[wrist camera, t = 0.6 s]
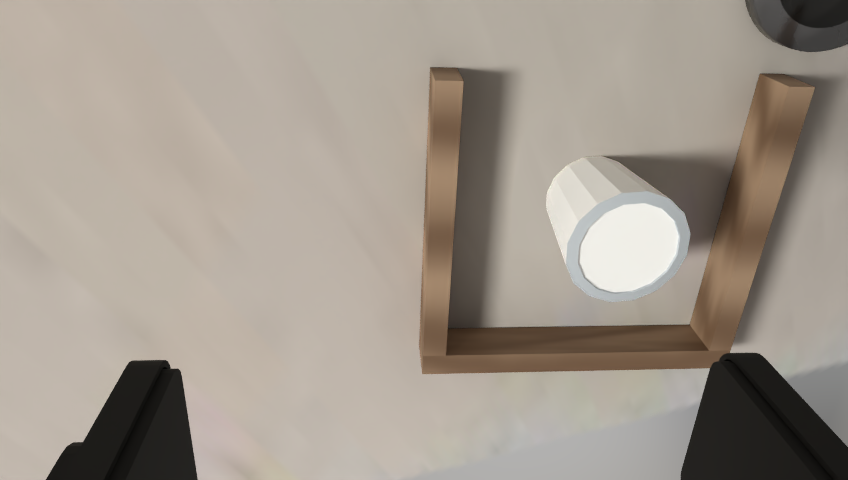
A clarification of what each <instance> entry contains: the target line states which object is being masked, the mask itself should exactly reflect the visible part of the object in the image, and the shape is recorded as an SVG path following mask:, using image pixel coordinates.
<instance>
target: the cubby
mask: <svg viewBox="0 0 848 480" xmlns="http://www.w3.org/2000/svg"><path fill="white" fill-rule="evenodd" d="M463 82H464V81H463V79H462V77H461V75H460V73H459V71H458V69H457V68H433V67H430V89H429V114H428V139H427V164H426V189H425V214H424V239H423V264H422V289H421V315H420V340H419V349H420V358H421V367H422V374H449V373H497V372H546V371H594V370H642V369H691V368H711V365H712V364H713V363H714V362H716V361H719V359H720V357H721V356H722V355H723V354H726V353H730V350H731V347H732V344H733V341H734V338H735V335H736V331H737V328H738V325H739V322H740V319H741V316H742V313H743V310H744V307H745V304H746V300H747V297H748V294H749V291H750V288H751V285H752V282H753V279H754V276H755V272H756V269H757V266H758V263H759V260H760V257H761V254H762V251H763V248H764V245H765V241H766V238H767V235H768V232H769V229H770V226H771V223H772V220H773V217H774V214H775V210H776V207H777V204H778V201H779V198H780V195H781V192H782V189H783V186H784V183H785V179H786V176H787V173H788V170H789V167H790V164H791V161H792V158H793V155H794V152H795V148H796V145H797V142H798V139H799V136H800V133H801V130H802V127H803V124H804V121H805V117H806V114H807V111H808V108H809V105H810V102H811V99H812V96H813V93H814V89H815V87H814V86H811V85H809V84H806V83H804V82H802V81H799V80H797V79H794V78H792V77H790V76H787V75H785V74H760V75H759V79H758V82H757V86H756V89H755V93H754V97H753V100H752V104H751V107H750V111H749V114H748V118H747V122H746V125H745V129H744V132H743V136H742V140H741V143H740V147H739V150H738V154H737V157H736V161H735V165H734V168H733V172H732V175H731V179H730V183H729V186H728V190H727V193H726V197H725V200H724V204H723V208H722V211H721V215H720V218H719V222H718V226H717V229H716V233H715V236H714V240H713V243H712V247H711V251H710V254H709V258H708V261H707V265H706V269H705V272H704V276H703V279H702V283H701V286H700V290H699V294H698V297H697V301H696V304H695V308H694V312H693V315H692V319H691V322H690V325H653V326H586V327H518V328H451V329H448V315H449V299H450V284H451V268H452V253H453V237H454V222H455V206H456V191H457V175H458V160H459V144H460V129H461V113H462V98H463Z"/></svg>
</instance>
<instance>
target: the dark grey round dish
mask: <svg viewBox="0 0 848 480" xmlns="http://www.w3.org/2000/svg"><path fill="white" fill-rule="evenodd" d="M745 1H746V6H747V9H748V12H749V15H750V17H751V19H752V21H753V23H754V24H755V25H756V27H757V28H758V29H759V31H760V32H761V33H762V34H764V35H765V36H766V37H767V38H769V39H770V40H772V41H773V42H775V43H778V44H780V45H782V46H785V47H788V48H791V49H795V50H799V51H805V52H820V51H826V50H831V49H834V48H838V47H841V46H843V45H845V44H848V0H745Z"/></svg>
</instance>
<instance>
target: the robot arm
mask: <svg viewBox="0 0 848 480" xmlns="http://www.w3.org/2000/svg"><path fill="white" fill-rule="evenodd" d="M46 480H198V479H197V473H196V466H195V460H194V453H193V447H192V440H191V434H190V427H189V421H188V414H187V407H186V401H185V394H184V388H183V381H182V375H181V372H180V370H179V369H170V365H169V363H168V361H166V360H144V361H131V362H129V363H128V365H127V366H126V368H125V370H124V371H123V373H122V375H121V377H120V378H119V380H118V382H117V384H116V385H115V387H114V389H113V391H112V392H111V394H110V396H109V398H108V399H107V401H106V403H105V405H104V406H103V408H102V410H101V412H100V413H99V415H98V417H97V419H96V420H95V422H94V424H93V426H92V427H91V429H90V431H89V433H88V435H87V436H86V438H85V440H84V442H74V443H72V444H70V445H68V446H67V447H66V449H65V450H64V451H63V452H62V454H61V455H60V457H59V459H58V460H57V462H56V464H55V465H54V467H53V469H52V470H51V472H50V474H49V475H48V477H47V479H46ZM681 480H848V447H847V446H846V445H845V444H844V443H843V442H842V440H841V439H840V438H839V437H838V436H837V435H836V434H835V433H834V432H833V431H832V430H831V429H830V428H829V427H828V425H827V424H826V423H825V422H824V421H823V420H822V419H821V418H820V417H819V416H818V415H817V414H816V413H815V412H814V410H813V409H812V408H811V407H810V406H809V405H808V404H807V403H806V402H805V401H804V400H803V399H802V398H801V397H800V395H799V394H798V393H797V392H796V391H795V390H794V389H793V388H792V387H791V386H790V385H789V384H788V383H787V381H786V380H785V379H784V378H783V377H782V376H781V375H780V374H779V373H778V372H777V371H776V370H775V369H774V368H773V366H772V365H771V364H770V363H769V362H768V361H767V360H766V359H765V358H764V357H763V356H762V355H760V354H758V353H726V354H723V355H722V356H721V357H720V359H719V361H716V362H714V363H713V364H712V365H711V368H710V371H709V374H708V378H707V381H706V385H705V389H704V392H703V396H702V399H701V403H700V406H699V410H698V414H697V417H696V421H695V424H694V428H693V431H692V435H691V439H690V442H689V446H688V449H687V453H686V456H685V460H684V463H683V467H682V471H681Z"/></svg>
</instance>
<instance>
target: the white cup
mask: <svg viewBox="0 0 848 480" xmlns="http://www.w3.org/2000/svg"><path fill="white" fill-rule="evenodd" d="M546 209H547V212H548V215H549V218H550V221H551V223H552V226H553V229H554V232H555V235H556V238H557V241H558V243H559V246H560V249H561V252H562V255H563V258H564V261H565V264H566V266H567V268H568V271H569V273H570V276H571V278H572V280H573V283H574V284H575V285H576V286H578V287H579V288H580V289H581V290H582V291H584V292H585V293H586V294H587V295H588V296H590V297H594V298H597V299H601V300H604V301H608V302H617V301H629V300H635V299H637V298H640V297H642V296H645V295H647V294H649V293H652V292H654V291H656V290H657V289H659V288H660V287H661V286H662V285H663V284H665V283H666V282H667V281H668V280H669V279H671V278H672V277H673V276H674V275H675V274H676V272H677V270H678V269H679V267H680V266H681V264H682V262H683V261H684V259H685V257H686V256H687V252H688V246H689V240H690V234H691V233H690V230H689V227H688V223H687V220H686V216H685V213H684V212H683V211H682V210H681V209H680V208H679V207H678V206H677V205H676V204H675V203H674V202H673V201H672V200H671V199H669V198H668V197H667V196H665V195H664V194H662V193H661V192H660V191H658V190H657V189H655V188H654V187H653V186H651V185H650V184H648V183H647V182H646V181H644V180H643V179H641V178H640V177H639V176H637V175H636V174H634V173H633V172H632V171H630V170H629V169H627V168H626V167H625V166H623V165H622V164H620V163H619V162H618V161H615V160H612V159H609V158H606V157H603V156H593V157H583V158H581V159H579V160H577V161H575V162H572V163H570V164H568V165H567V166H566V167H565V168H564V169H562V170H561V171H560V172H559V173H558V174H557V175H556V176H555V177H554V179H553V181H552V183H551V185H550V187H549V190H548V192H547V203H546Z"/></svg>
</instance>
